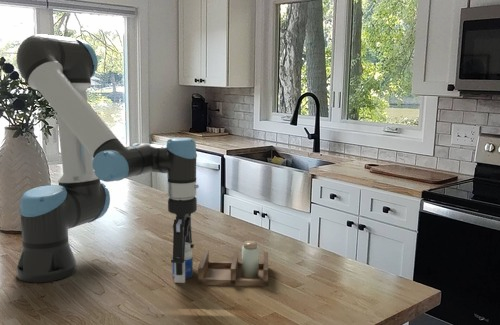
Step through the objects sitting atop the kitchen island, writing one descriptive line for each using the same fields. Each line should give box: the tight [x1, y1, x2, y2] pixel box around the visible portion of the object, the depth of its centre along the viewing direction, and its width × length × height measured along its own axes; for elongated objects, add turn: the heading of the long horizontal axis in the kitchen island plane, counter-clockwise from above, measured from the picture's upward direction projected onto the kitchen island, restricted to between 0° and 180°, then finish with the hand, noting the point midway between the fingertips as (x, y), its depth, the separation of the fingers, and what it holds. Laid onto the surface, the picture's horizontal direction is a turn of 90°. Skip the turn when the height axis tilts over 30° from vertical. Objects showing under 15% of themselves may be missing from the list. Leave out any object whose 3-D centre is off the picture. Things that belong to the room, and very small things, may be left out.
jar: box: [241, 240, 260, 279], centre depth 130 cm, size 5×5×9 cm
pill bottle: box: [171, 242, 194, 281], centre depth 130 cm, size 6×5×10 cm
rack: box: [197, 250, 269, 287], centre depth 130 cm, size 18×13×6 cm
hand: (183, 278), depth 131 cm, fingers open, 9 cm apart
